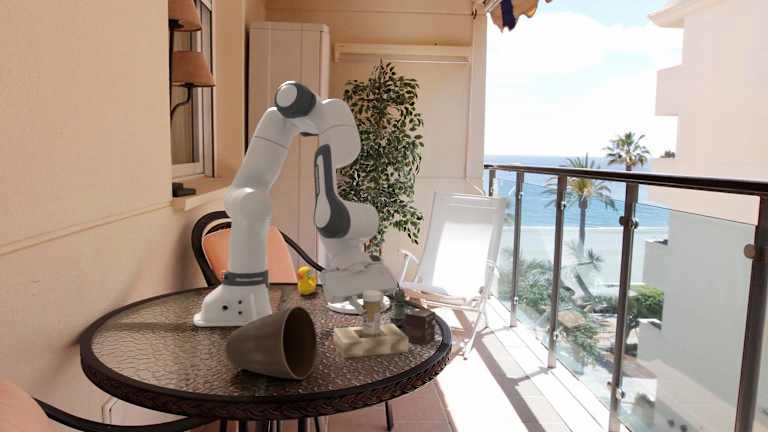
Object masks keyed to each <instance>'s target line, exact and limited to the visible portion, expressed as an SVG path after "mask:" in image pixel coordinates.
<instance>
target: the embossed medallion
mask: <svg viewBox="0 0 768 432" xmlns="http://www.w3.org/2000/svg"><path fill="white" fill-rule="evenodd" d="M357 301H358V302H359V303H360V304H361V305H363V299H360V300H357ZM383 302H384V304H385V306H386V307H385V309H384V310H382V311H380V313H382V312H385V311H386V310H387V309H389V308H390V299H389V297H387V295H384V300H383ZM327 303H328V308H329V309H330V310H332V311H335V312H339V313H340V314H358V315H359V313H358V311H357V309H355V308H354V307H352V306H351V305H350V303H349V301H348V302H342V303H337V304H330V303H329V302H328V301H327Z"/></svg>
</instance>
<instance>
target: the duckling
mask: <svg viewBox="0 0 768 432" xmlns="http://www.w3.org/2000/svg"><path fill="white" fill-rule="evenodd" d="M296 278H297V279H298V280H299V281H298V283H297V290H298V292H299V294H301V295H307V296H308V295H310V294H311V293H313V292H314V291H315V289H316V287H317V278H316V275H314V274H313V272H312V268H309V267H308V266H303V267H300V268H299V269H298V272H297V273H296Z"/></svg>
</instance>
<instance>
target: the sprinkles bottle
mask: <svg viewBox="0 0 768 432" xmlns="http://www.w3.org/2000/svg"><path fill="white" fill-rule="evenodd" d="M362 299H363V305H365V308H366V309H367V312H366V313H365V314H362V326H363V338H370V337H380V325H381V312H380V300H381V292H379V291H376V290H368V291H364V292H363V298H362Z"/></svg>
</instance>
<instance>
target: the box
mask: <svg viewBox="0 0 768 432" xmlns="http://www.w3.org/2000/svg"><path fill="white" fill-rule="evenodd" d="M404 334H405V335H406V336H407V337H408V343H409V342H410V343H416V344H421V345H427V344H428V343H430V342H432V341H433V340H435V338H436V335H435V334H436V311H432V310H426V309H421V308H414V309H413V310H412V309H411V310H409V311H407V312H405V331H404Z"/></svg>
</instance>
